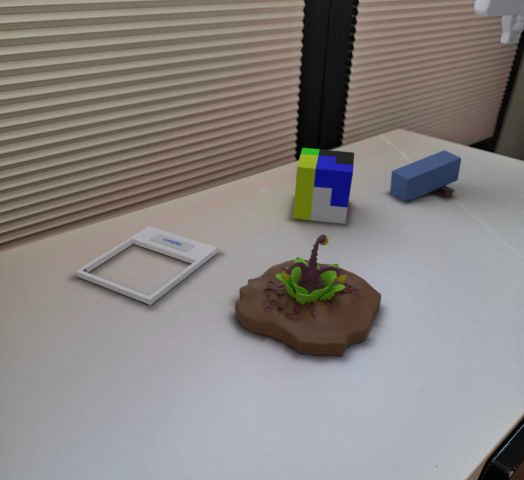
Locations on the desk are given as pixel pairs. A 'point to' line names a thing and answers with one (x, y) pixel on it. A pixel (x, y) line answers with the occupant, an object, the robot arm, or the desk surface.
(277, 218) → the desk surface
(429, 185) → the toy block
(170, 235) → the photo frame
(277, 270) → the plant
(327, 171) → the puzzle toy
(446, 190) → the bar
